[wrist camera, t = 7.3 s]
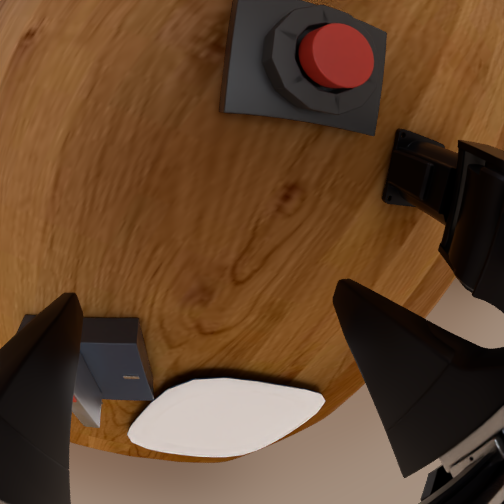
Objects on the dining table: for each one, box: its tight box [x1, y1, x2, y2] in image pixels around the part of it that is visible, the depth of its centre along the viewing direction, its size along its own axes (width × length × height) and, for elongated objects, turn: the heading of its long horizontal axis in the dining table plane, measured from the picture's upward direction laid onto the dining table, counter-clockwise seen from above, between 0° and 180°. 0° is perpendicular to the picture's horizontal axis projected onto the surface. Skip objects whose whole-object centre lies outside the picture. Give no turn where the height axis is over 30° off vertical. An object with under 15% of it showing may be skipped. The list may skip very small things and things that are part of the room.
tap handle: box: [72, 353, 102, 428], centre depth 18 cm, size 6×2×4 cm, turn 174°
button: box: [299, 23, 374, 88], centre depth 11 cm, size 4×4×2 cm
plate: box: [127, 377, 325, 457], centre depth 34 cm, size 25×25×2 cm
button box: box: [219, 0, 387, 136], centre depth 13 cm, size 10×8×4 cm
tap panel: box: [16, 315, 154, 404], centre depth 21 cm, size 12×11×3 cm
